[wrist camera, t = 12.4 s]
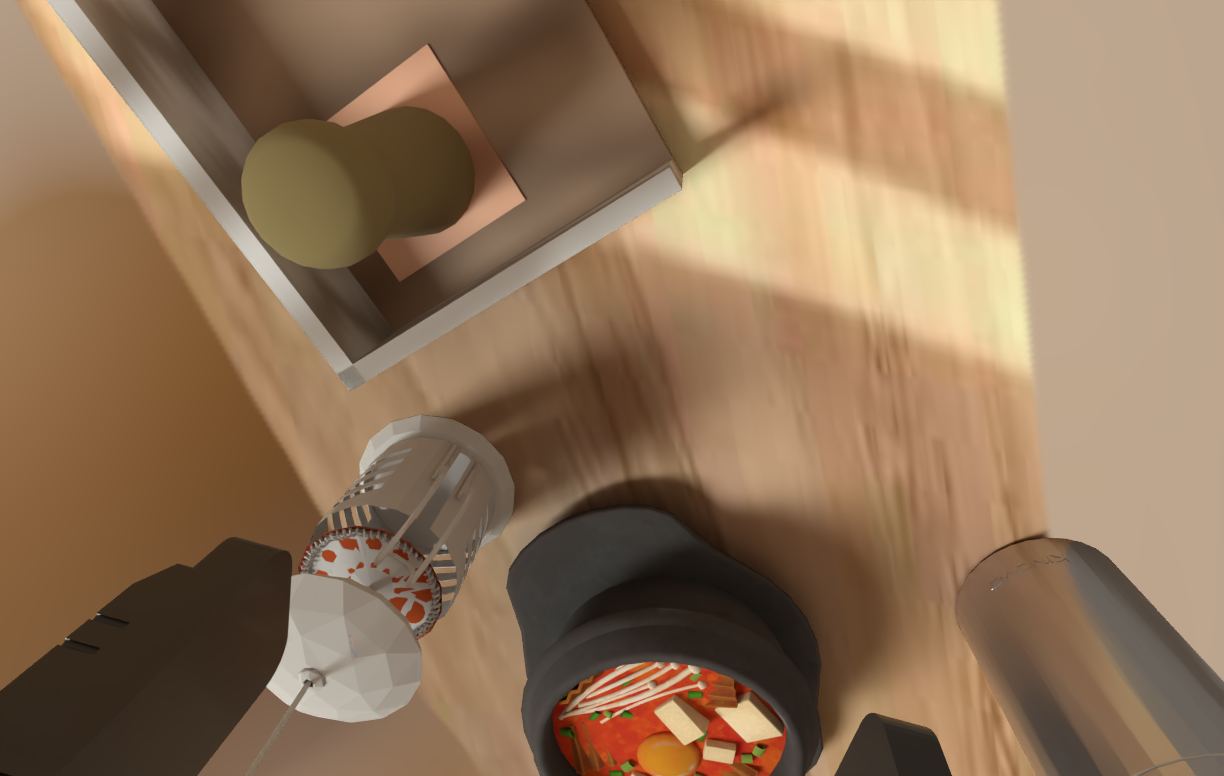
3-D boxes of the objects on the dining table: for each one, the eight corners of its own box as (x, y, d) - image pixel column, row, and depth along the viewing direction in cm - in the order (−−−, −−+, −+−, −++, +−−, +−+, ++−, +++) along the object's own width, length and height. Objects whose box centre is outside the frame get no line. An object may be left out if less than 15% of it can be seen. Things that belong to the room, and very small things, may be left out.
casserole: (447, 560, 44) (396, 656, 36) (704, 436, 39) (709, 518, 31) (643, 809, 51) (635, 934, 43) (883, 732, 46) (923, 859, 38)
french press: (329, 490, 43) (-83, 937, 20) (431, 360, 39) (59, 732, 16) (456, 581, 45) (211, 1088, 22) (566, 465, 40) (408, 938, 17)
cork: (332, 131, 33) (175, 142, 23) (444, 86, 32) (330, 77, 22) (386, 251, 35) (264, 311, 25) (494, 213, 34) (412, 260, 24)
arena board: (682, 174, 34) (681, 189, 28) (402, 346, 39) (350, 391, 33) (441, -262, 28) (375, -361, 22) (151, 5, 33) (33, -18, 27)
